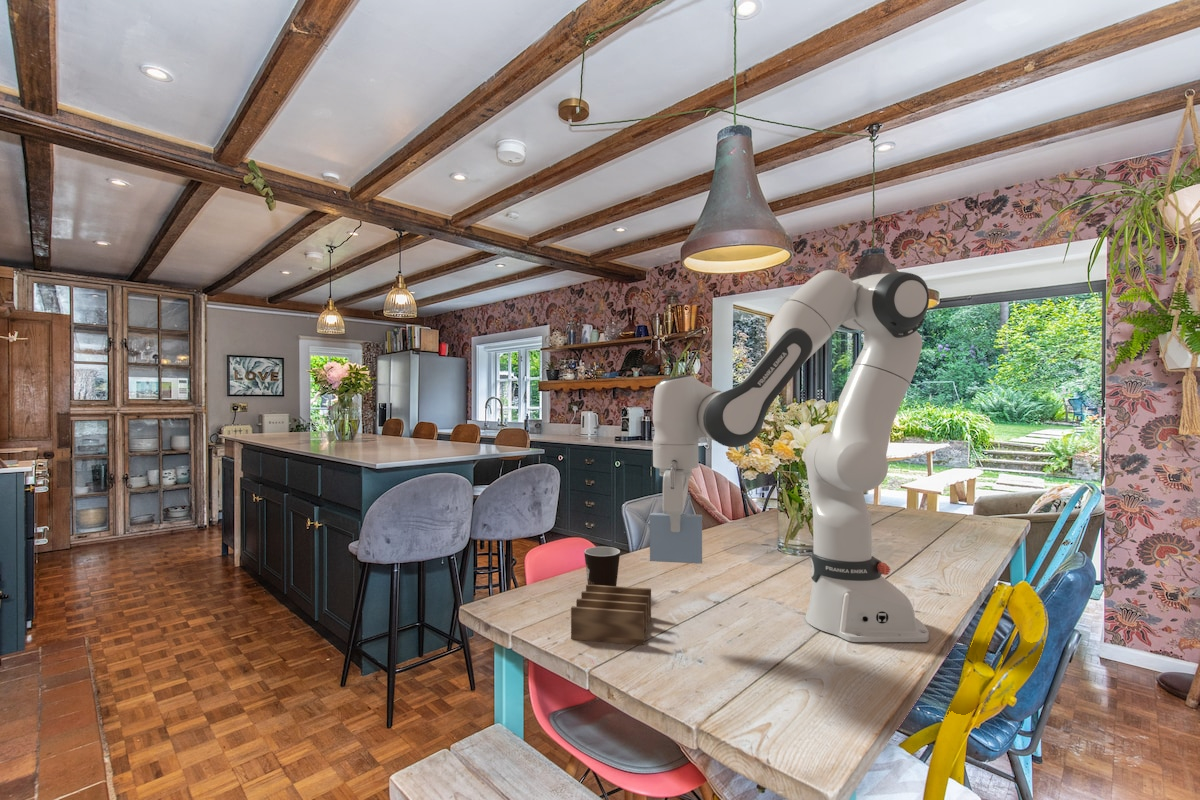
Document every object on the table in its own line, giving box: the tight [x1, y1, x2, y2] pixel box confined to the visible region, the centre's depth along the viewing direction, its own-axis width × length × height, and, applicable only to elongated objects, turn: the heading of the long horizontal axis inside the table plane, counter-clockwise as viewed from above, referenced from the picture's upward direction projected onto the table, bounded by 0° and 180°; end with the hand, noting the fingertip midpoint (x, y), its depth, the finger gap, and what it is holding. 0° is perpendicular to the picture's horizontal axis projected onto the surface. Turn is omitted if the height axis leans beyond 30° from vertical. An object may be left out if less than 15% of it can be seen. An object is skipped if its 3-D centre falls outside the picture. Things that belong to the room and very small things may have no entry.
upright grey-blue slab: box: [649, 512, 703, 565], centre depth 108 cm, size 10×2×9 cm, turn 79°
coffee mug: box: [583, 546, 621, 586], centre depth 134 cm, size 12×9×10 cm
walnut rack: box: [570, 583, 652, 646], centre depth 112 cm, size 14×14×6 cm
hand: (676, 529), depth 108 cm, fingers closed on upright grey-blue slab, 2 cm apart
